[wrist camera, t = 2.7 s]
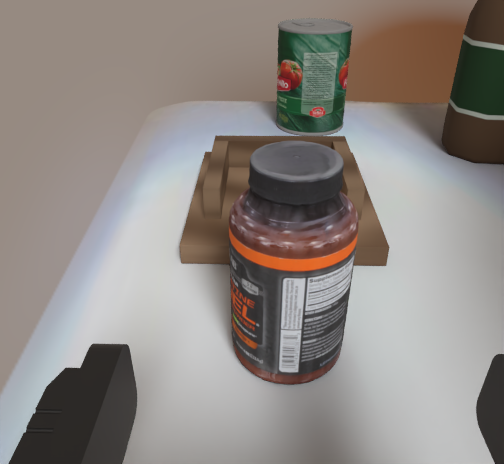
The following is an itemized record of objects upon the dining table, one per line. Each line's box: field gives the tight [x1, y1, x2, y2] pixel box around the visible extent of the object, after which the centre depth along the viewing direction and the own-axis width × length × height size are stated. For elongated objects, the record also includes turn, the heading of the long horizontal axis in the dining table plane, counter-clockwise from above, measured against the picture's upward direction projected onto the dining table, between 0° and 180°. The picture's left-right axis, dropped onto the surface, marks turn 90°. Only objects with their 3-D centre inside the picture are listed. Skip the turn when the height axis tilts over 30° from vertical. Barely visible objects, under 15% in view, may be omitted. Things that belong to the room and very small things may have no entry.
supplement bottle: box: [229, 141, 359, 384], centre depth 23 cm, size 6×6×11 cm
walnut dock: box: [180, 136, 389, 266], centre depth 38 cm, size 16×14×4 cm
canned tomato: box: [276, 18, 353, 136], centre depth 53 cm, size 8×8×11 cm
